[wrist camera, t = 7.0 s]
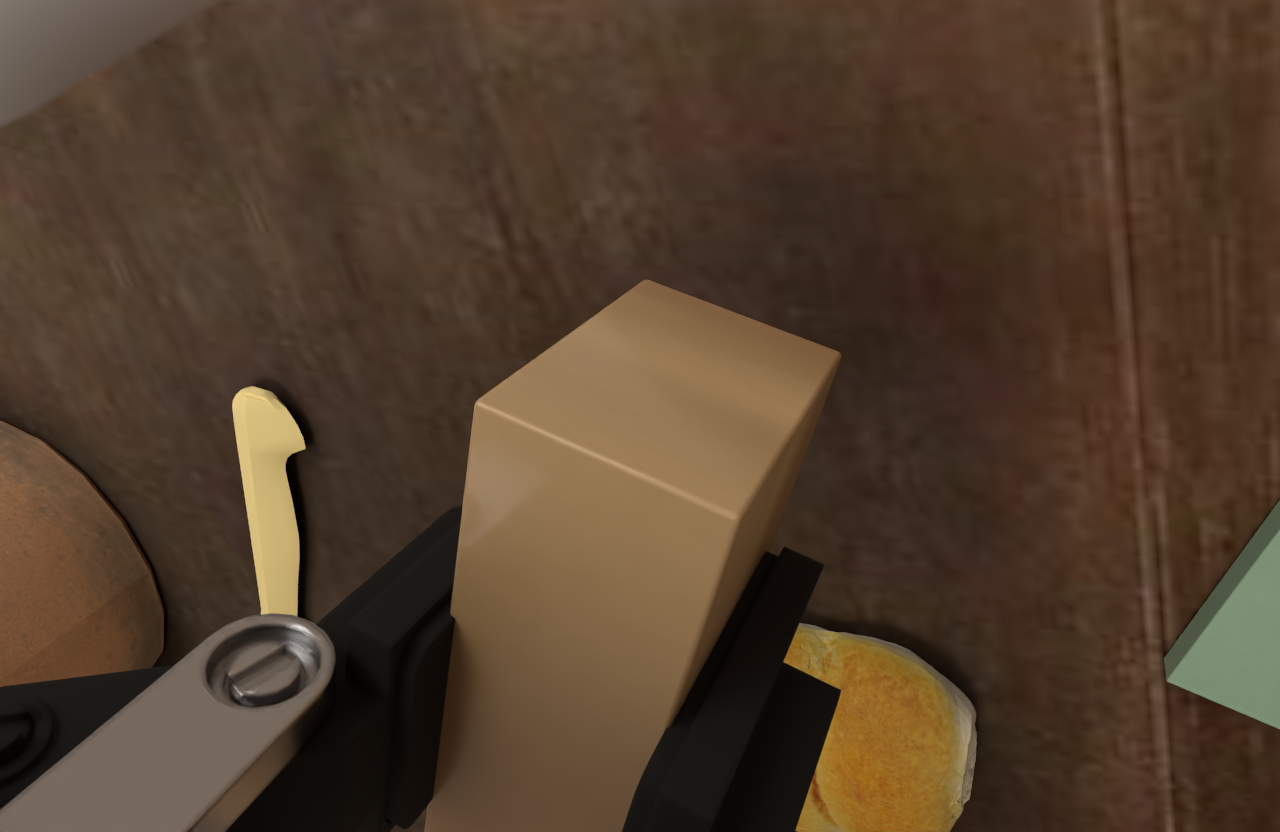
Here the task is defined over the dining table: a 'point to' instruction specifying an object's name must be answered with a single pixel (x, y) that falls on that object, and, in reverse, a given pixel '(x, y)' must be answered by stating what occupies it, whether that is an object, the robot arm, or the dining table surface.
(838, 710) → the bread roll
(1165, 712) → the dining table surface
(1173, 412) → the dining table surface
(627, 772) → the wooden handled knife
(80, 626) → the pottery
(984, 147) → the dining table surface
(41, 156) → the dining table surface
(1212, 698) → the butter dish
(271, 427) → the knife
